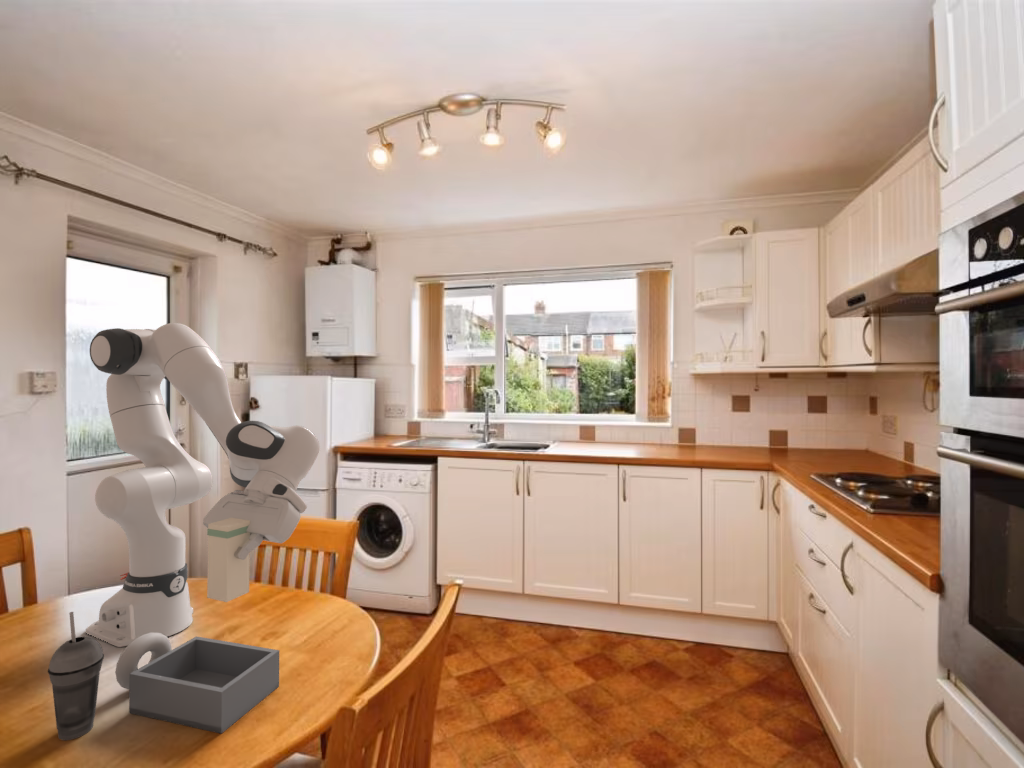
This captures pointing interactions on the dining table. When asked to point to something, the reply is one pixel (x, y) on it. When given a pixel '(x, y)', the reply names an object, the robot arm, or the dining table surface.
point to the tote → (204, 683)
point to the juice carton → (227, 559)
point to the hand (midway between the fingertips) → (226, 555)
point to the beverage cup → (75, 684)
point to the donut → (140, 654)
